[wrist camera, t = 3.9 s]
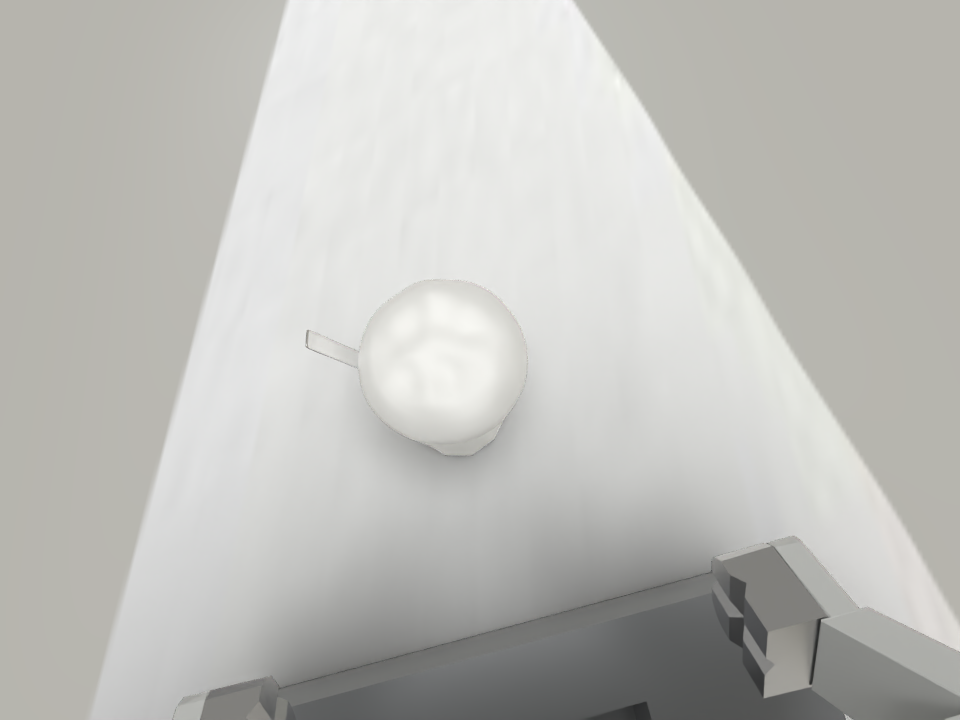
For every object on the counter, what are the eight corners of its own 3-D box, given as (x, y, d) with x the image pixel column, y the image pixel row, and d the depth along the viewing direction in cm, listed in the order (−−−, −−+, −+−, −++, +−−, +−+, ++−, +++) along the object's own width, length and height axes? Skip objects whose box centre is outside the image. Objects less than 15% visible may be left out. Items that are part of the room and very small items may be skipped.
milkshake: (384, 362, 24) (312, 250, 15) (515, 360, 24) (529, 246, 15) (380, 474, 23) (298, 432, 14) (518, 473, 23) (535, 430, 13)
